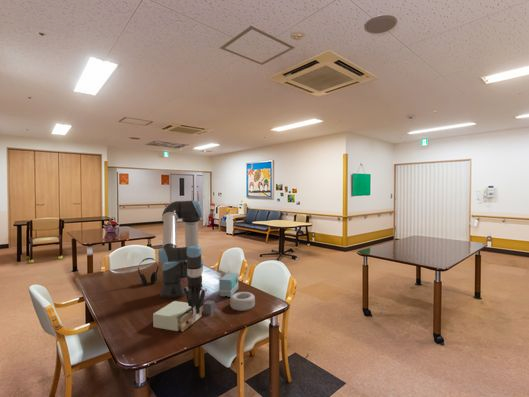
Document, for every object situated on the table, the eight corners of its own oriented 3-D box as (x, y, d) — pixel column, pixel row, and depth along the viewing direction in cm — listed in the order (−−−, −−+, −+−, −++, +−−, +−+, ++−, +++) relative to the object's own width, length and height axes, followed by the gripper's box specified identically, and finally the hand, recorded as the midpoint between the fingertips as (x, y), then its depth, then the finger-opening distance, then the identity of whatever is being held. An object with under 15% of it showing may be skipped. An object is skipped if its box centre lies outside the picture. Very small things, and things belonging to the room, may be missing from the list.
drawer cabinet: (153, 326, 152) (153, 313, 151) (174, 312, 168) (174, 300, 168) (177, 331, 147) (177, 317, 146) (196, 316, 164) (196, 303, 163)
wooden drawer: (158, 327, 151) (157, 315, 150) (178, 312, 167) (178, 302, 167) (184, 331, 145) (184, 319, 145) (203, 316, 162) (202, 305, 162)
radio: (232, 298, 189) (231, 268, 188) (219, 297, 191) (218, 267, 190) (240, 289, 204) (239, 261, 203) (228, 288, 206) (227, 261, 206)
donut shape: (234, 313, 166) (234, 302, 166) (227, 304, 180) (227, 293, 180) (258, 308, 172) (258, 297, 172) (249, 299, 186) (249, 289, 186)
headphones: (137, 284, 220) (136, 258, 219) (157, 280, 228) (156, 255, 227) (139, 287, 212) (138, 260, 212) (160, 283, 221) (159, 257, 220)
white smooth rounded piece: (171, 321, 153) (171, 318, 153) (180, 315, 161) (180, 312, 161) (185, 323, 151) (185, 320, 151) (193, 316, 159) (192, 313, 159)
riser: (203, 313, 166) (202, 303, 166) (207, 310, 171) (207, 300, 171) (210, 314, 165) (210, 304, 164) (215, 311, 169) (214, 301, 169)
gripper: (179, 276, 151) (181, 320, 152) (201, 278, 147) (203, 324, 148) (188, 272, 158) (189, 314, 159) (209, 274, 154) (210, 317, 155)
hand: (196, 319), depth 153 cm, fingers closed
